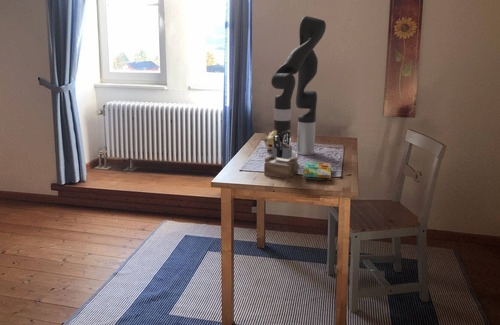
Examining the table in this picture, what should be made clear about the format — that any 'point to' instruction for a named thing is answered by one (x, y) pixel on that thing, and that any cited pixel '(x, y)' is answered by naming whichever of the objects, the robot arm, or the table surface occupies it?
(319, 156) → the table surface
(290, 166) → the stand
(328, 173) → the puzzle game
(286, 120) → the robot arm
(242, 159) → the table surface
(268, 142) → the tan toy hamster
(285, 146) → the block
